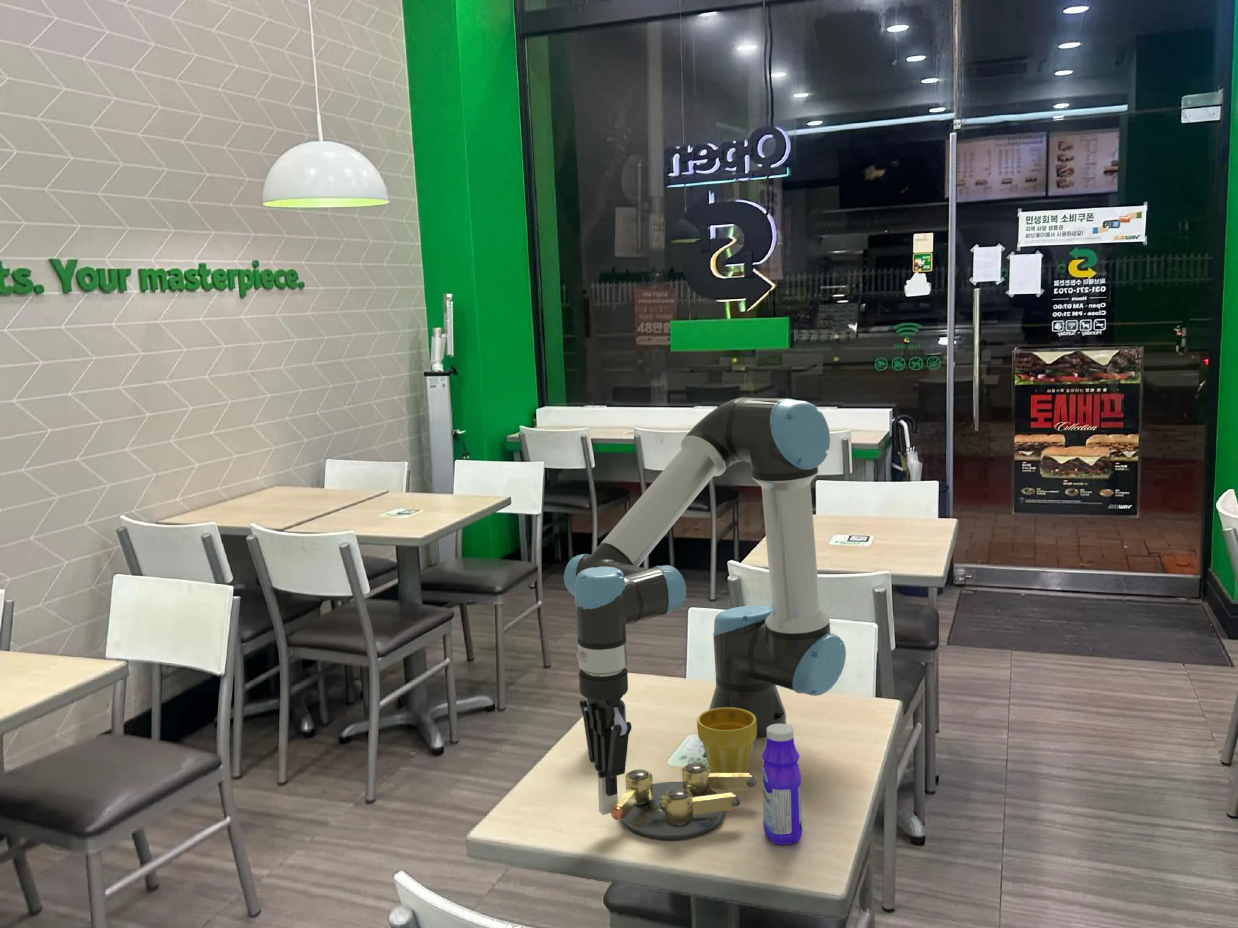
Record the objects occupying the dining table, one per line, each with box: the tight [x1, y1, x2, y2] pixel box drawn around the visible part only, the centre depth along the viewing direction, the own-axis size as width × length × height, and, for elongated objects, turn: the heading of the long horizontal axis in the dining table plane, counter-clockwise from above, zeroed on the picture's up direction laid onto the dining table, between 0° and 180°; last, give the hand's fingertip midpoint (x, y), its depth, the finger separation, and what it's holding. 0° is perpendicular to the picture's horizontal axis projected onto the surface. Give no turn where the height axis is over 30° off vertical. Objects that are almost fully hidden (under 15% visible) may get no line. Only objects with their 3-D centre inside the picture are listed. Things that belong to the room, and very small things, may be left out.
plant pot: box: [696, 707, 757, 773], centre depth 181 cm, size 10×10×10 cm
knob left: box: [681, 762, 758, 796], centre depth 170 cm, size 12×4×4 cm, turn 84°
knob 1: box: [610, 768, 654, 821], centre depth 165 cm, size 12×4×4 cm, turn 156°
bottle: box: [761, 723, 803, 845], centre depth 158 cm, size 7×6×17 cm
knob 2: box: [664, 788, 742, 824], centre depth 162 cm, size 12×4×4 cm, turn 99°
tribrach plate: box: [620, 781, 726, 842], centre depth 167 cm, size 17×17×3 cm
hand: (608, 810), depth 163 cm, fingers closed
